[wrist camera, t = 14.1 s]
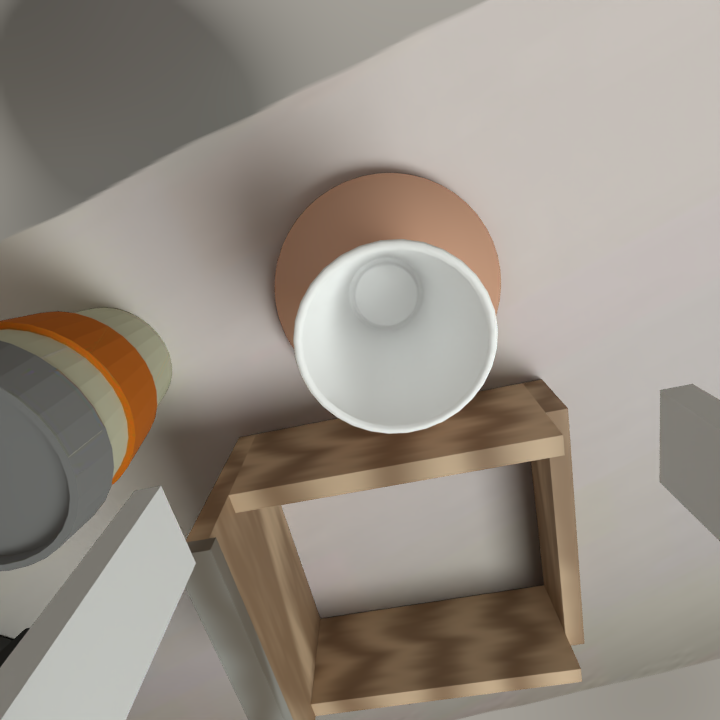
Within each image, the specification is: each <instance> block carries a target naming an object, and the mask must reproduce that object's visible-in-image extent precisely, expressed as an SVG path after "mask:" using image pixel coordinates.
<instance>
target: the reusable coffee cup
mask: <svg viewBox="0 0 720 720" xmlns="http://www.w3.org/2000/svg"><path fill="white" fill-rule="evenodd" d="M171 376H172V364H171V360H170V356H169V352H168V350H167V348H166V346H165V344H164V342H163V341H162V339H161V338H160V336H159V335H158V334H157V333H156V332H155V331H154V330H153V329H152V328H151V327H150V326H149V325H148V324H147V323H146V322H144V321H143V320H141V319H140V318H139V317H136V316H134V315H132V314H130V313H128V312H125V311H122V310H119V309H114V308H93V309H88V310H84V311H79V312H74V313H69V312H59V311H57V312H45V313H38V314H33V315H28V316H23V317H18V318H13V319H8V320H3V321H0V571H9V570H13V569H18V568H22V567H26V566H29V565H32V564H34V563H36V562H38V561H40V560H43V559H45V558H46V557H48V556H49V555H50V554H52V553H53V552H54V551H55V550H57V549H58V548H59V547H60V546H61V545H63V544H64V543H65V542H66V541H67V540H68V539H69V538H70V537H71V536H72V535H73V534H74V533H75V532H76V531H77V530H79V529H80V528H81V527H82V526H83V525H84V524H85V523H86V522H87V521H88V520H89V519H90V518H91V517H92V516H93V515H95V513H96V512H97V511H98V509H99V508H100V507H101V505H102V504H103V503H104V502H105V500H106V497H107V495H108V493H109V490H110V488H111V485H112V484H114V483H115V482H116V481H117V480H118V479H119V478H120V477H121V475H122V474H123V473H124V471H125V470H126V469H127V467H128V466H129V464H130V462H131V461H132V459H133V457H134V456H135V454H136V452H137V451H138V449H139V447H140V446H141V444H142V442H143V441H144V439H145V437H146V436H147V434H148V432H149V431H150V429H151V426H152V424H153V422H154V419H155V415H156V410H157V406H158V405H159V403H160V402H161V400H162V398H163V397H164V395H165V394H166V392H167V390H168V387H169V385H170V382H171Z"/></svg>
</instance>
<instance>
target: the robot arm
mask: <svg viewBox="0 0 720 720" xmlns="http://www.w3.org/2000/svg"><path fill="white" fill-rule="evenodd" d="M660 483H661V484H662V485H663V486H664V487H665V488H666V489H667V490H668V491H669V492H670V493H671V494H672V495H673V496H674V497H675V498H676V499H677V500H678V501H679V502H680V503H681V504H682V505H684V506H685V507H686V508H687V509H688V510H689V511H690V512H691V513H692V514H693V515H694V516H695V517H696V518H697V519H698V520H699V521H700V522H701V523H702V524H703V525H704V526H705V527H706V528H707V529H708V530H709V531H710V532H711V533H712V534H713V535H714V536H715V537H716V538H717V539H718V540H719V541H720V400H719V399H717V398H715V397H714V396H712V395H710V394H709V393H707V392H705V391H703V390H702V389H700V388H698V387H697V386H695V385H693V384H689V385H684V386H679V387H674V388H669V389H663V390H660ZM195 564H196V562H195V560H194V558H193V556H192V553H191V551H190V549H189V547H188V544H187V542H186V540H185V538H184V536H183V533H182V531H181V529H180V527H179V524H178V522H177V520H176V518H175V516H174V513H173V511H172V509H171V507H170V504H169V502H168V500H167V498H166V496H165V493H164V491H163V489H162V487H161V486H157V487H152V488H147V489H141V490H136V491H134V492H133V494H132V495H131V496H130V498H129V499H128V500H127V502H126V503H125V504H124V506H123V507H122V508H121V509H120V511H119V512H118V513H117V515H116V516H115V517H114V519H113V520H112V521H111V523H110V524H109V525H108V527H107V528H106V529H105V530H104V532H103V533H102V534H101V536H100V537H99V538H98V540H97V541H96V542H95V544H94V545H93V546H92V548H91V549H90V550H89V551H88V553H87V554H86V555H85V557H84V558H83V559H82V561H81V562H80V563H79V565H78V566H77V567H76V569H75V570H74V571H73V573H72V574H71V575H70V576H69V578H68V579H67V580H66V582H65V583H64V584H63V586H62V587H61V588H60V590H59V591H58V592H57V594H56V595H55V596H54V597H53V599H52V600H51V601H50V603H49V604H48V605H47V607H46V608H45V609H44V611H43V612H42V613H41V615H40V616H39V617H38V618H37V620H36V621H35V622H34V624H33V625H32V626H31V628H27V629H25V630H23V631H22V632H21V633H20V634H19V635H18V636H17V637H16V638H15V639H14V640H10V639H7V638H4V637H0V720H126V718H127V716H128V713H129V711H130V709H131V707H132V705H133V702H134V700H135V698H136V696H137V693H138V691H139V689H140V687H141V684H142V682H143V680H144V678H145V676H146V673H147V671H148V669H149V667H150V664H151V662H152V660H153V658H154V656H155V653H156V651H157V649H158V647H159V644H160V642H161V640H162V638H163V635H164V633H165V631H166V629H167V627H168V624H169V622H170V620H171V618H172V615H173V613H174V611H175V609H176V607H177V604H178V602H179V600H180V598H181V595H182V593H183V591H184V589H185V586H186V584H187V582H188V580H189V578H190V575H191V573H192V571H193V569H194V566H195Z"/></svg>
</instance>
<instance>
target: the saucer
mask: <svg viewBox="0 0 720 720" xmlns="http://www.w3.org/2000/svg"><path fill="white" fill-rule="evenodd" d="M393 239H406V240H413V241H420V242H425V243H428V244H431V245H433V246H436V247H439V248H442V249H444V250H446V251H447V252H449V253H451V254H452V255H454V256H455V257H457V258H459V259H460V260H462V261H463V262H464V263H465V264H466V265H467V266H468V267H469V268H470V269H471V270H472V271H473V272H474V273H475V274H476V275H477V276H478V278H479V279H480V281H481V282H482V284H483V285H484V287H485V288H486V290H487V291H488V294H489V296H490V299H491V302H492V304H493V307H494V309H495V314H497V310H498V305H499V301H500V291H501V275H500V266H499V260H498V255H497V252H496V249H495V246H494V243H493V240H492V238H491V236H490V234H489V232H488V230H487V228H486V227H485V225H484V224H483V222H482V221H481V219H480V218H479V216H478V215H477V214H476V213H475V212H474V211H473V209H472V208H471V207H470V206H469V205H468V204H467V203H466V202H465V201H463V200H462V199H461V198H460V197H459V196H457V195H456V194H455V193H453V192H452V191H450V190H448V189H447V188H445V187H443V186H442V185H440V184H437V183H435V182H433V181H430V180H428V179H425V178H421V177H417V176H414V175H408V174H400V173H378V174H372V175H366V176H361V177H358V178H355V179H352V180H349V181H346V182H344V183H342V184H340V185H338V186H336V187H334V188H332V189H330V190H329V191H327V192H326V193H324V194H323V195H321V196H320V197H319V198H317V199H316V200H315V201H314V202H313V203H312V204H311V205H309V206H308V207H307V208H306V210H305V211H304V212H303V213H302V214H301V215H300V216H299V218H298V219H297V220H296V222H295V223H294V225H293V226H292V228H291V229H290V231H289V233H288V235H287V237H286V239H285V241H284V243H283V245H282V248H281V251H280V255H279V258H278V261H277V267H276V273H275V300H276V307H277V311H278V316H279V319H280V322H281V325H282V327H283V330H284V332H285V334H286V336H287V338H288V340H289V342H290V344H291V345H292V347H293V348H294V343H293V336H294V325H295V319H296V315H297V312H298V309H299V305H300V302H301V300H302V298H303V296H304V295H305V293H306V291H307V289H308V287H309V286H310V284H311V283H312V282H313V280H314V279H315V278H316V277H317V276H318V274H319V273H320V272H321V271H322V270H323V269H324V268H325V267H326V266H327V265H329V264H330V263H331V262H333V261H334V260H335V259H336V258H338V257H339V256H340V255H342V254H344V253H346V252H348V251H350V250H352V249H354V248H356V247H358V246H361V245H365V244H368V243H372V242H376V241H380V240H393Z"/></svg>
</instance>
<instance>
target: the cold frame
mask: <svg viewBox="0 0 720 720" xmlns="http://www.w3.org/2000/svg"><path fill="white" fill-rule="evenodd" d="M529 461H531V467H532V477H533V486H534V495H535V505H536V514H537V524H538V533H539V542H540V552H541V561H542V570H543V580H544V585H543V586H537V587H530V588H523V589H517V590H510V591H503V592H497V593H490V594H483V595H476V596H470V597H463V598H456V599H450V600H443V601H436V602H430V603H423V604H416V605H410V606H403V607H396V608H390V609H383V610H376V611H370V612H363V613H356V614H349V615H343V616H336V617H329V618H323V619H320V616H319V613H318V610H317V607H316V605H315V602H314V599H313V596H312V593H311V590H310V587H309V584H308V582H307V579H306V576H305V573H304V570H303V567H302V564H301V561H300V559H299V556H298V553H297V550H296V547H295V544H294V541H293V539H292V536H291V533H290V530H289V527H288V524H287V521H286V518H285V516H284V513H283V510H282V507H281V505H284V504H290V503H296V502H301V501H307V500H313V499H318V498H324V497H330V496H335V495H341V494H347V493H353V492H358V491H364V490H370V489H375V488H381V487H387V486H392V485H398V484H404V483H409V482H415V481H421V480H427V479H432V478H438V477H444V476H449V475H455V474H461V473H466V472H472V471H478V470H484V469H489V468H495V467H501V466H506V465H512V464H518V463H523V462H529ZM186 542H187V544H188V547H189V549H190V551H191V553H192V556H193V558H194V560H195V562H196V564H195V566H194V569H193V571H192V573H191V575H190V578H189V580H188V582H187V584H186V586H185V588H186V590H187V592H188V594H189V596H190V598H191V600H192V602H193V605H194V607H195V609H196V611H197V613H198V615H199V617H200V619H201V621H202V623H203V626H204V628H205V630H206V632H207V634H208V636H209V638H210V640H211V642H212V644H213V647H214V649H215V651H216V653H217V655H218V657H219V659H220V661H221V663H222V665H223V668H224V670H225V672H226V674H227V676H228V678H229V680H230V682H231V684H232V686H233V689H234V691H235V693H236V695H237V697H238V699H239V701H240V703H241V705H242V708H243V710H244V712H245V714H246V716H247V718H248V720H315V716H319V715H327V714H334V713H342V712H350V711H358V710H365V709H373V708H381V707H389V706H397V705H404V704H412V703H420V702H428V701H435V700H443V699H451V698H459V697H466V696H474V695H482V694H490V693H497V692H505V691H513V690H521V689H528V688H536V687H544V686H552V685H560V684H567V683H575V682H582V677H581V668H580V666H579V663H578V661H577V659H576V657H575V654H574V652H573V650H572V648H571V645H578V644H584V632H583V617H582V603H581V589H580V574H579V560H578V546H577V531H576V517H575V503H574V488H573V474H572V460H571V445H570V431H569V417H568V408H567V407H566V406H565V405H564V404H563V402H562V401H561V400H560V399H559V398H558V397H557V396H556V395H555V394H554V392H553V391H552V390H551V389H550V388H549V387H548V386H547V385H546V384H545V382H544V381H543V380H542V379H541V380H536V381H531V382H526V383H520V384H515V385H510V386H505V387H500V388H494V389H489V390H484V391H479V392H477V394H476V395H475V396H474V398H473V399H472V400H471V401H470V402H469V403H468V404H466V405H465V406H464V407H463V408H462V409H461V410H460V411H459V412H457V413H456V414H454V415H453V416H451V417H449V418H448V419H446V420H445V421H443V422H441V423H438V424H436V425H434V426H431V427H429V428H426V429H422V430H418V431H413V432H409V433H391V434H388V433H380V432H372V431H368V430H365V429H362V428H359V427H355V426H353V425H351V424H349V423H347V422H345V421H343V420H341V419H339V418H338V419H333V420H328V421H322V422H317V423H312V424H307V425H302V426H296V427H291V428H286V429H281V430H276V431H270V432H265V433H260V434H255V435H250V436H244V437H239V439H238V441H237V443H236V444H235V446H234V448H233V450H232V452H231V454H230V456H229V458H228V460H227V462H226V464H225V466H224V468H223V470H222V472H221V474H220V475H219V477H218V479H217V481H216V483H215V485H214V487H213V489H212V491H211V493H210V495H209V497H208V499H207V501H206V503H205V505H204V506H203V508H202V510H201V512H200V514H199V516H198V518H197V520H196V522H195V524H194V526H193V528H192V530H191V532H190V534H189V535H188V537H187V539H186Z"/></svg>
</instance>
